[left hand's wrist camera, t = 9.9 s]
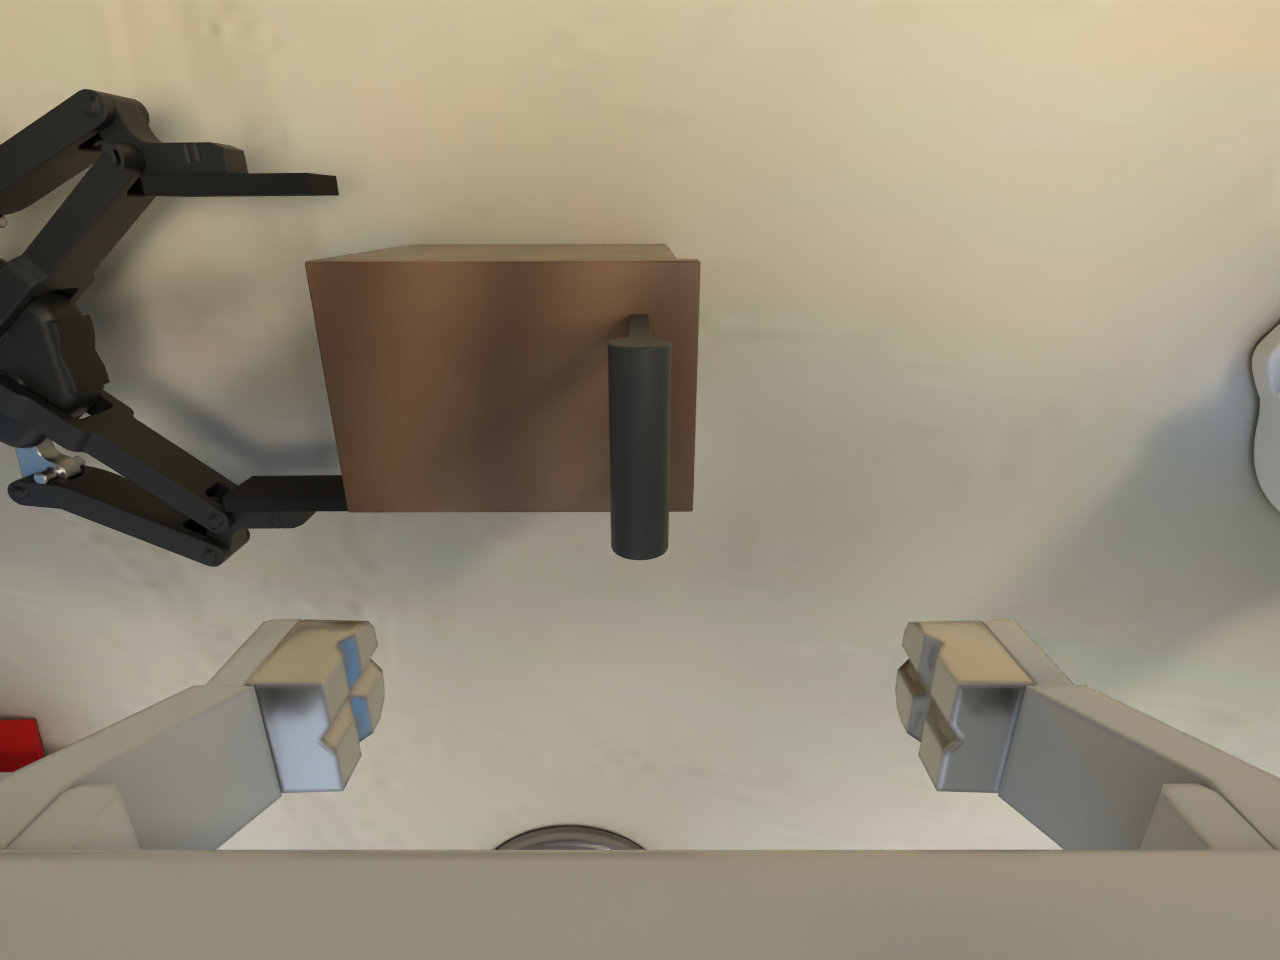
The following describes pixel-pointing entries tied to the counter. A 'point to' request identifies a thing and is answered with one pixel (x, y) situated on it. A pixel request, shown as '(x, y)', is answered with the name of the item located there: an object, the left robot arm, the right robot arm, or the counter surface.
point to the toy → (18, 745)
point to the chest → (516, 252)
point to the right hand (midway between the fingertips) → (352, 351)
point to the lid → (514, 386)
